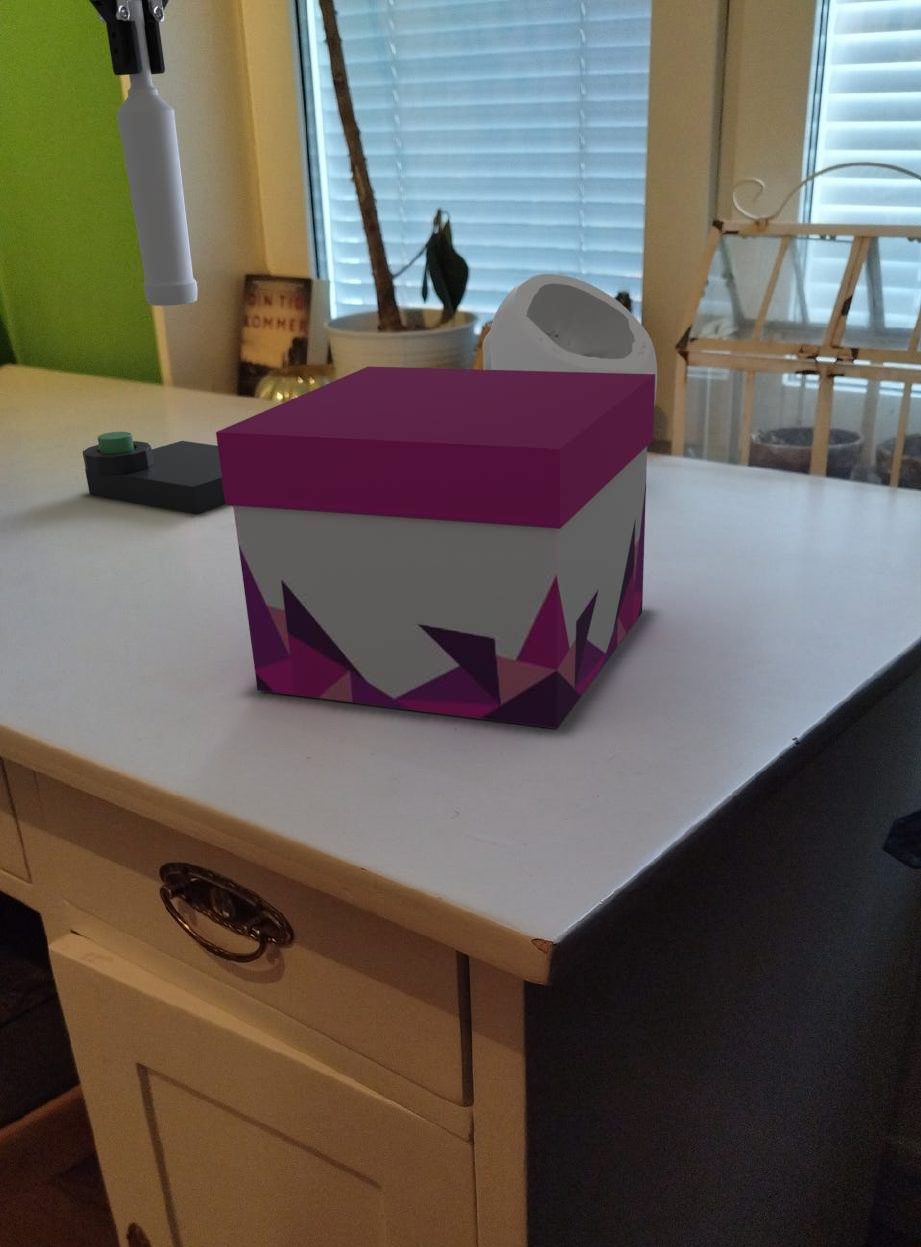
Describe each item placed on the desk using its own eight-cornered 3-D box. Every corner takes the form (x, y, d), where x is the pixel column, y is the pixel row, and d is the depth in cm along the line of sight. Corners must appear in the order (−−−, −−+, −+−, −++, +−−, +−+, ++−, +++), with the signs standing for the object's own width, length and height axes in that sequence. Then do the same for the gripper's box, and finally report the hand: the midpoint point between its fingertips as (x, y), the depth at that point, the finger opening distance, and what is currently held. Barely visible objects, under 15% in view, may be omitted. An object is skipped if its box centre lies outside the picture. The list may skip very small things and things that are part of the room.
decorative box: (384, 588, 89) (368, 366, 82) (647, 612, 83) (655, 374, 75) (250, 693, 74) (215, 432, 67) (560, 733, 67) (559, 448, 60)
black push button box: (78, 496, 115) (69, 452, 113) (182, 464, 124) (176, 423, 122) (188, 517, 107) (181, 470, 105) (291, 481, 116) (286, 437, 114)
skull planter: (574, 416, 126) (612, 238, 111) (647, 556, 116) (701, 382, 100) (443, 431, 123) (463, 250, 107) (506, 577, 113) (539, 400, 97)
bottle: (137, 306, 123) (89, 1, 110) (159, 299, 127) (116, 5, 115) (186, 305, 122) (144, -3, 109) (207, 298, 126) (168, 1, 114)
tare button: (93, 454, 113) (90, 437, 113) (119, 447, 116) (116, 430, 115) (115, 458, 112) (112, 440, 111) (141, 451, 114) (138, 433, 113)
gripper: (143, -162, 113) (174, 76, 122) (-4, -186, 102) (42, 77, 111) (203, -174, 109) (230, 72, 119) (57, -201, 98) (100, 73, 107)
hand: (139, 72), depth 115 cm, fingers closed on bottle, 2 cm apart
